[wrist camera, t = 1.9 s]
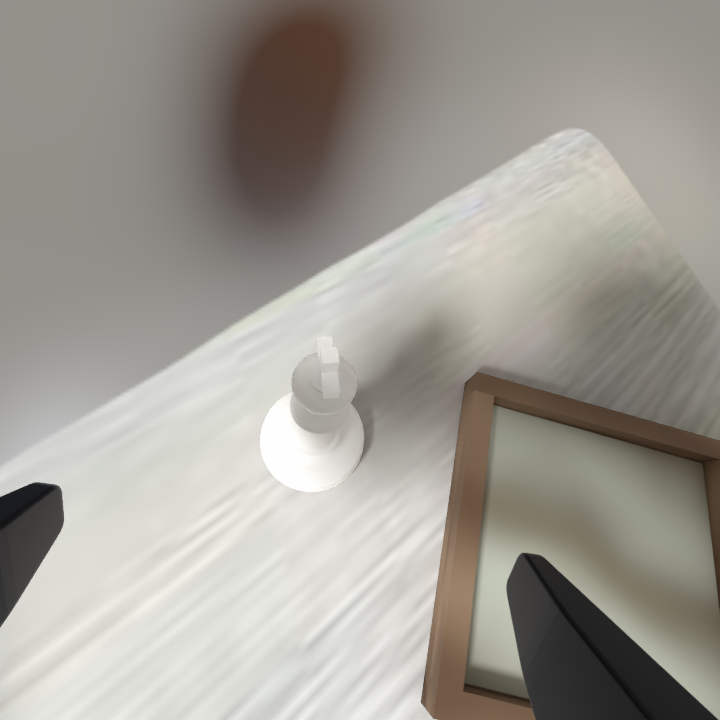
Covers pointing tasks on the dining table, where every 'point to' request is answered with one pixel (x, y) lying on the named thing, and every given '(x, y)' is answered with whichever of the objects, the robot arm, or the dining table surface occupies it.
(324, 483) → the chess piece
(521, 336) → the dining table surface
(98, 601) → the dining table surface
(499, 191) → the dining table surface
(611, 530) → the walnut tray
